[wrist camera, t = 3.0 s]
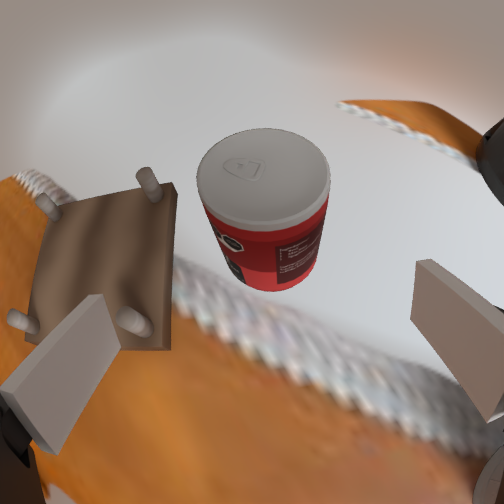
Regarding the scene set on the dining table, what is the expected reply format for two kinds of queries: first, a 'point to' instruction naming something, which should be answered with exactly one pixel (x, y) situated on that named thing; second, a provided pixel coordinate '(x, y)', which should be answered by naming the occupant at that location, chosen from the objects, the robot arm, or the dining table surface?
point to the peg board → (107, 263)
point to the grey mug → (490, 479)
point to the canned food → (266, 204)
